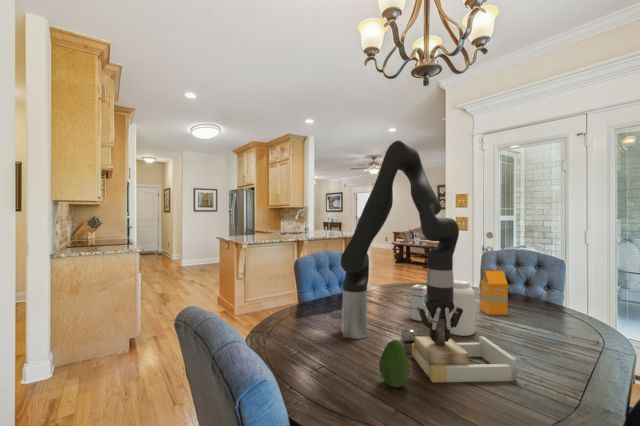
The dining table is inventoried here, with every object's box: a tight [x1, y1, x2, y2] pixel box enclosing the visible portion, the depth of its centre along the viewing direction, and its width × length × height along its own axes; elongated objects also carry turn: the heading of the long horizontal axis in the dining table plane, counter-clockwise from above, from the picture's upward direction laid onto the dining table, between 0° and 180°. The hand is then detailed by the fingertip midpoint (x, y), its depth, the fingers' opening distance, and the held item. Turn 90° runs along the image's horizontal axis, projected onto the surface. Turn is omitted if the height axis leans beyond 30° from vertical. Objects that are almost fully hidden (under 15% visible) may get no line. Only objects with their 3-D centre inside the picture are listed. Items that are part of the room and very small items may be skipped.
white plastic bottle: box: [450, 278, 476, 337], centre depth 122 cm, size 12×12×20 cm
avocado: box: [378, 339, 411, 389], centre depth 82 cm, size 8×8×12 cm
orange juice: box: [480, 269, 509, 316], centre depth 146 cm, size 8×9×20 cm
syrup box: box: [410, 284, 429, 322], centre depth 136 cm, size 6×6×14 cm
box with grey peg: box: [413, 318, 470, 379], centre depth 92 cm, size 11×12×15 cm
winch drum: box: [399, 328, 421, 354], centre depth 104 cm, size 6×4×7 cm, turn 93°
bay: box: [411, 335, 518, 383], centre depth 93 cm, size 24×16×6 cm, turn 93°
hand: (439, 340), depth 92 cm, fingers closed on box with grey peg, 3 cm apart
